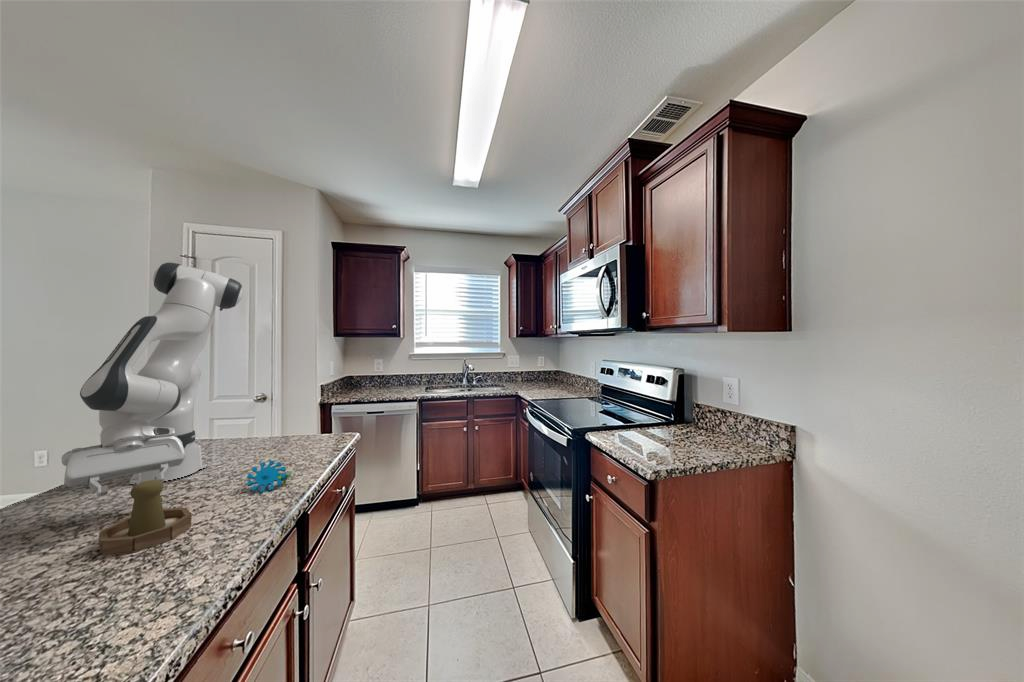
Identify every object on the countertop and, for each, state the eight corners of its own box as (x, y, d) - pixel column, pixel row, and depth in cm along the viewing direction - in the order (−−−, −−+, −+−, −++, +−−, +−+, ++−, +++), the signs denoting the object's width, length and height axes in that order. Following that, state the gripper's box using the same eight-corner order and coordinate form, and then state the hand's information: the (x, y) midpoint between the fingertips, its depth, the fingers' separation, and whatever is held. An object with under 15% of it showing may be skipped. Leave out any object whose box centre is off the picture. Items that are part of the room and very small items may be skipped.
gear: (240, 491, 99) (253, 459, 106) (243, 499, 102) (255, 468, 109) (284, 490, 103) (294, 459, 110) (286, 498, 106) (295, 468, 113)
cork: (165, 520, 83) (165, 474, 83) (166, 529, 79) (166, 481, 79) (128, 529, 79) (128, 482, 79) (126, 540, 75) (126, 489, 75)
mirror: (97, 539, 77) (97, 526, 77) (182, 514, 88) (182, 503, 88) (103, 562, 69) (103, 547, 69) (195, 531, 80) (195, 519, 80)
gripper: (62, 442, 80) (63, 496, 74) (182, 427, 96) (190, 469, 91) (60, 458, 82) (61, 511, 76) (177, 440, 99) (185, 482, 93)
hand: (132, 488), depth 83 cm, fingers open, 8 cm apart
